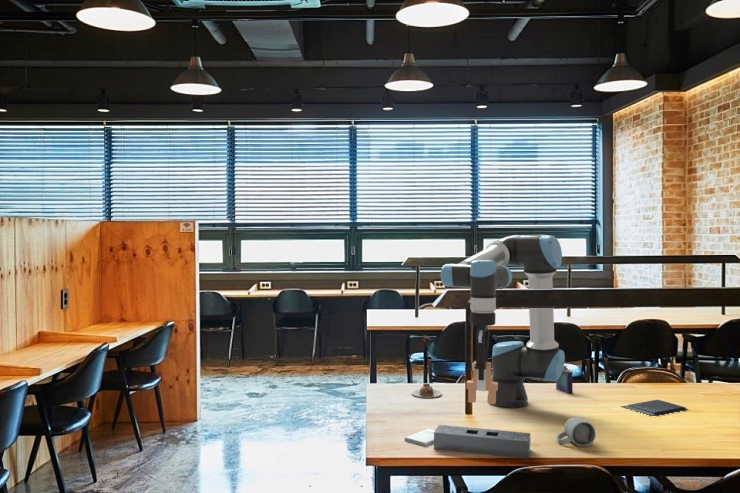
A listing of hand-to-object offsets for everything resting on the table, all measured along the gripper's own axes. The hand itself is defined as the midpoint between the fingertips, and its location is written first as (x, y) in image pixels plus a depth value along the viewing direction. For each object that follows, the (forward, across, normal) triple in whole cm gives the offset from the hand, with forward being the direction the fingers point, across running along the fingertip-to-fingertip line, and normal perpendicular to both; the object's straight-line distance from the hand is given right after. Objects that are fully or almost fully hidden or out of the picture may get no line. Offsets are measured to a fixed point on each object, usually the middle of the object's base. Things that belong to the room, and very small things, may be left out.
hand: (482, 388), depth 191 cm
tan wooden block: (+4, 0, 0) cm, 4 cm away
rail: (+18, 0, 0) cm, 18 cm away
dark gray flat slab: (+19, -63, +56) cm, 87 cm away
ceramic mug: (+19, -15, +27) cm, 36 cm away
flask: (+18, -79, +24) cm, 85 cm away
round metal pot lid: (+19, -58, -29) cm, 67 cm away
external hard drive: (+19, -5, -18) cm, 27 cm away
